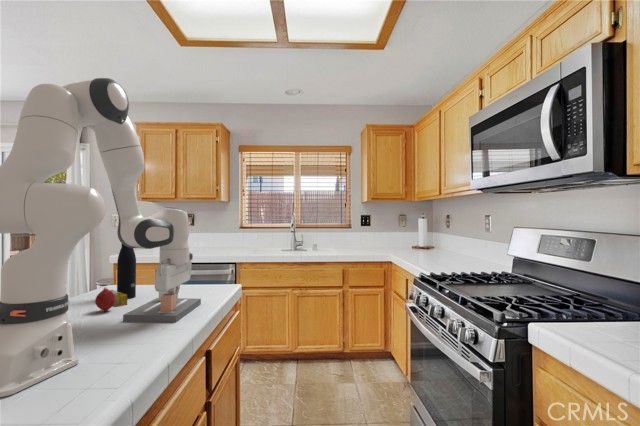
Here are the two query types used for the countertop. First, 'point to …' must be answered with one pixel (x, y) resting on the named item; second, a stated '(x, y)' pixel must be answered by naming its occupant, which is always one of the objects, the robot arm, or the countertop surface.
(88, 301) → the countertop surface
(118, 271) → the wine bottle
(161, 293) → the block
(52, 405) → the countertop surface
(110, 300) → the onion
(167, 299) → the fader
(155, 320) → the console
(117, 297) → the medication box
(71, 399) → the countertop surface
